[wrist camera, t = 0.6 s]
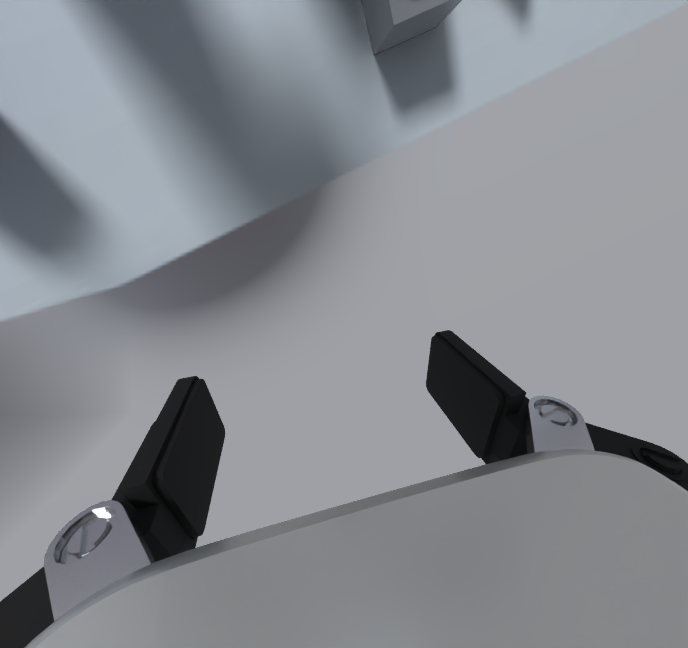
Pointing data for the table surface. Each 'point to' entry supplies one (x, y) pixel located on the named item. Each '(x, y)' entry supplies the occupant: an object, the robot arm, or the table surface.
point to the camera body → (402, 19)
